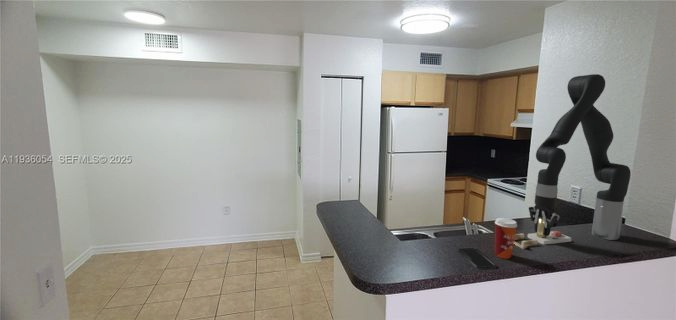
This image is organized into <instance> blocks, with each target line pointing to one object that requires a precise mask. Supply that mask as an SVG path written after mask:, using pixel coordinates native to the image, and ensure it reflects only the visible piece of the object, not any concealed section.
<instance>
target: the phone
mask: <svg viewBox="0 0 676 320" xmlns="http://www.w3.org/2000/svg"><path fill="white" fill-rule="evenodd" d="M458 252H459V253H460V255H461V256H463V258H465V259H466V260H467V261H468V262H469V263H470V264H471V265H472V266H473V267H474V268H476V269H479V270H481V269H485V270H486V269H487V270H488V269H497V267H498V265H497V264H496V263H495V262H494V261H492V260H491V259H490V258H489V257H488V256H486V255H485V254H484V253H483V252H481V251H480V250H479V249H478V248H474V247H471V248H458Z"/></svg>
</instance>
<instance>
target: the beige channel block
mask: <svg viewBox="0 0 676 320" xmlns="http://www.w3.org/2000/svg"><path fill="white" fill-rule="evenodd" d="M518 240H521V243H520V242H519V241H518ZM514 244H515V246H517V247H518V248H521V249H522V250H525V249H526V248H527V249H530V247H533V246H538V244H539V242H538V240H536V239H535V240H532V239H527V240H525V234H524V233H515V239H514Z"/></svg>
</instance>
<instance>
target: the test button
mask: <svg viewBox="0 0 676 320" xmlns="http://www.w3.org/2000/svg"><path fill="white" fill-rule="evenodd" d="M562 234H563V232H562V231H559V230H553V235H554V236H556V237H561V236H562Z"/></svg>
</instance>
